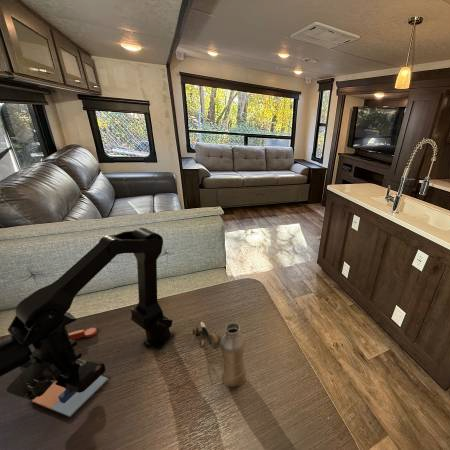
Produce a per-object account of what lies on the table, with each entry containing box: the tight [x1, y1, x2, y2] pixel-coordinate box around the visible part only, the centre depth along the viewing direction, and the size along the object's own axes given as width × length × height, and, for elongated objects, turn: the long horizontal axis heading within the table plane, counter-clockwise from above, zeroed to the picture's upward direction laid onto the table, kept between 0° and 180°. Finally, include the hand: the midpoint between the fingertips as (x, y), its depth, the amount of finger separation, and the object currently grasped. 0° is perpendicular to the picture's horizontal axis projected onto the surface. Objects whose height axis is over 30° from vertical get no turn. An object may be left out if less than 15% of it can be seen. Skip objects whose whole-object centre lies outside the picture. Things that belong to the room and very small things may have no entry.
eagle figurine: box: [187, 321, 221, 348], centre depth 82 cm, size 8×7×9 cm
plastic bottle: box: [219, 322, 247, 388], centre depth 68 cm, size 6×7×20 cm
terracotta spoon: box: [68, 327, 98, 341], centre depth 80 cm, size 8×3×2 cm, turn 121°
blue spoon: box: [58, 388, 76, 403], centre depth 64 cm, size 8×3×2 cm, turn 166°
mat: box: [31, 375, 109, 418], centre depth 66 cm, size 12×10×1 cm
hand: (72, 389), depth 62 cm, fingers closed on blue spoon, 1 cm apart
